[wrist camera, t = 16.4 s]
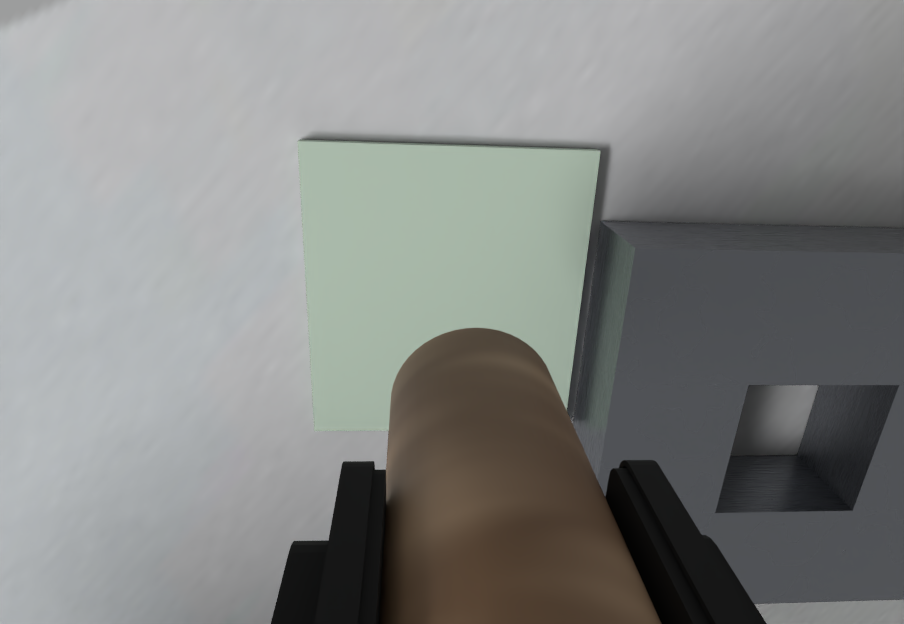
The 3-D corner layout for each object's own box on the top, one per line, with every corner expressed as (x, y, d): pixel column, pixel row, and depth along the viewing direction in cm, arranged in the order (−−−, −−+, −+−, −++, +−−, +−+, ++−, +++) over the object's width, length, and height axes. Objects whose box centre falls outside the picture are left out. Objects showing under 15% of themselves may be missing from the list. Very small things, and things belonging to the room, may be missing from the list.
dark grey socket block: (865, 537, 28) (925, 598, 25) (556, 544, 27) (576, 609, 24) (986, 230, 22) (1083, 256, 19) (600, 220, 21) (635, 248, 18)
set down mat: (561, 422, 24) (564, 429, 24) (316, 424, 24) (314, 431, 23) (596, 148, 20) (600, 151, 20) (300, 139, 19) (297, 141, 19)
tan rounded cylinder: (562, 328, 14) (1179, 1410, 3) (545, 468, 15) (893, 1524, 4) (390, 326, 13) (290, 1528, 2) (390, 470, 15) (329, 1603, 4)
